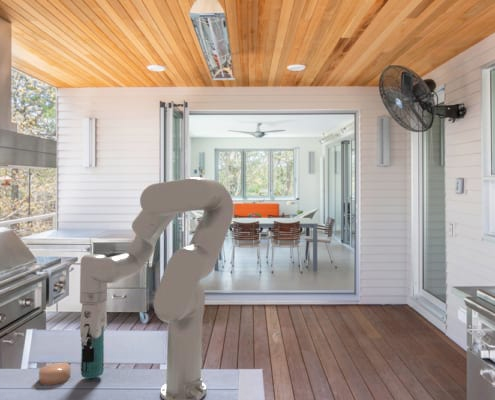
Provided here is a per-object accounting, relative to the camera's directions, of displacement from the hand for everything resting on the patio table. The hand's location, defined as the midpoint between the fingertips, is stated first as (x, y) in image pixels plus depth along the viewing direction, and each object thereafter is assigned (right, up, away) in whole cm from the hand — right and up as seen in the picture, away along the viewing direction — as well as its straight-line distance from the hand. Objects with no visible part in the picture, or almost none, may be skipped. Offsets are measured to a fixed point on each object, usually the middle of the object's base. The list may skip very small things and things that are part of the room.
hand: (92, 356), depth 119 cm
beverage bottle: (0, -7, 0) cm, 7 cm away
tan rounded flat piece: (-11, -6, 0) cm, 13 cm away
